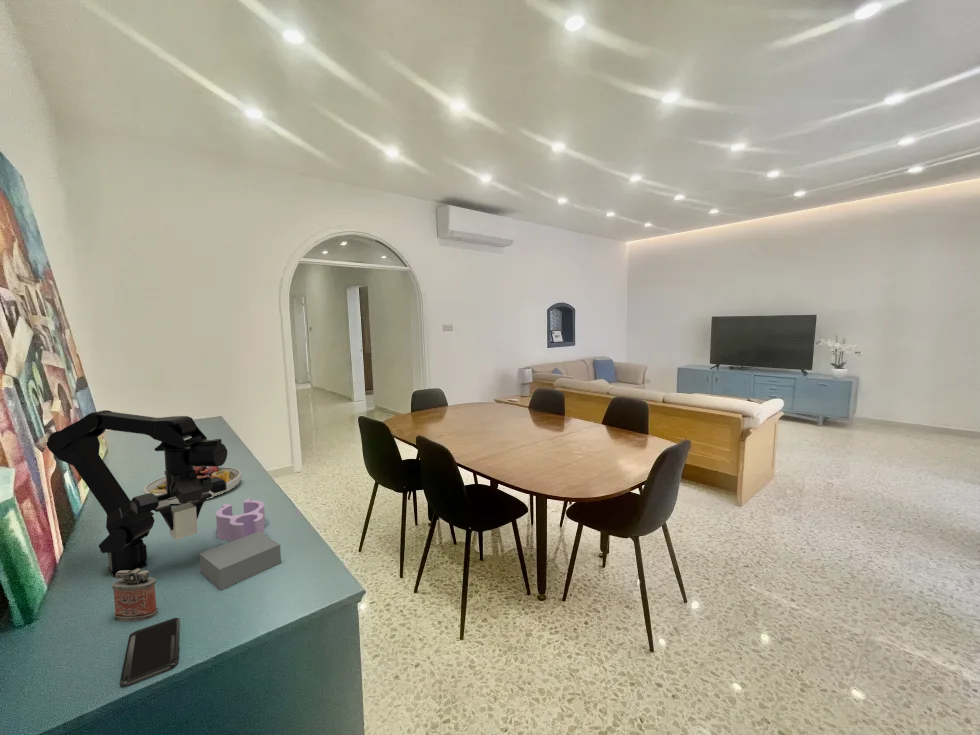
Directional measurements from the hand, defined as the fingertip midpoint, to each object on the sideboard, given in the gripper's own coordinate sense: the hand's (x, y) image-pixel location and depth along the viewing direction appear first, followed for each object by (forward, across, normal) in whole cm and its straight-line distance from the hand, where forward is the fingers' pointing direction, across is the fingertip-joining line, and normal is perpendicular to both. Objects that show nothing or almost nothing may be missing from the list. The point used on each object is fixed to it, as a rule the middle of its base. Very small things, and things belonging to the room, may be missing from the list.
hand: (183, 526), depth 102 cm
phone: (+11, -14, -29) cm, 34 cm away
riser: (+11, +8, -13) cm, 18 cm away
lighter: (+11, -13, -14) cm, 22 cm away
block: (+2, 0, 0) cm, 2 cm away
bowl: (+11, +21, +57) cm, 62 cm away
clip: (+11, +17, +7) cm, 21 cm away
